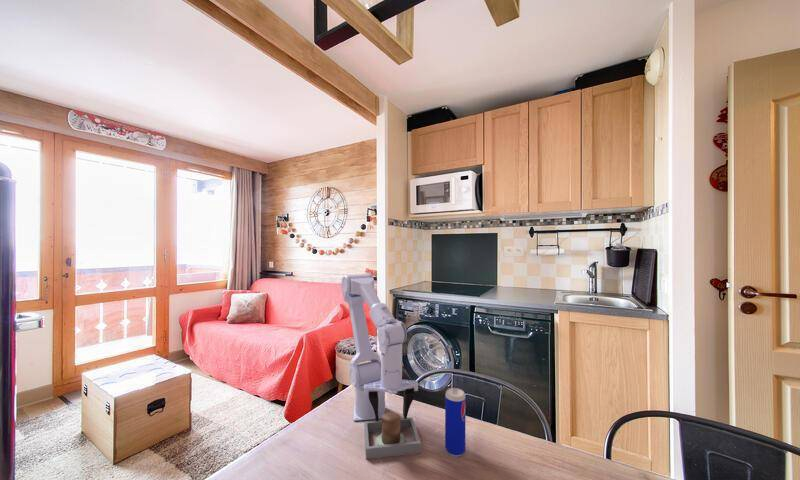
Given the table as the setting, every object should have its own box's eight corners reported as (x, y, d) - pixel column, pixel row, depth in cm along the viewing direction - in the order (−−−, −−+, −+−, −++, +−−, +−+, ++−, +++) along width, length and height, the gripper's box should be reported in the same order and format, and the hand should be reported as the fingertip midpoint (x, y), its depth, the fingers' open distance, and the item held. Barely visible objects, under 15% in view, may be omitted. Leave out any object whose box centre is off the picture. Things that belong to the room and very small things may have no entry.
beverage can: (465, 459, 71) (465, 398, 71) (444, 456, 72) (444, 396, 72) (465, 445, 76) (465, 388, 76) (445, 442, 77) (445, 386, 77)
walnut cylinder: (398, 432, 80) (398, 411, 80) (401, 445, 75) (402, 422, 75) (380, 434, 79) (380, 412, 79) (383, 447, 74) (383, 424, 75)
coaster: (402, 430, 82) (402, 429, 82) (407, 449, 74) (407, 448, 74) (375, 433, 81) (375, 431, 81) (378, 452, 73) (378, 451, 73)
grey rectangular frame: (412, 425, 84) (412, 417, 84) (420, 452, 73) (420, 443, 73) (364, 430, 82) (364, 421, 82) (365, 459, 71) (365, 449, 71)
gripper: (365, 376, 73) (364, 430, 72) (420, 372, 75) (420, 424, 75) (364, 364, 80) (363, 413, 79) (415, 361, 82) (414, 409, 82)
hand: (391, 417), depth 78 cm, fingers open, 7 cm apart
